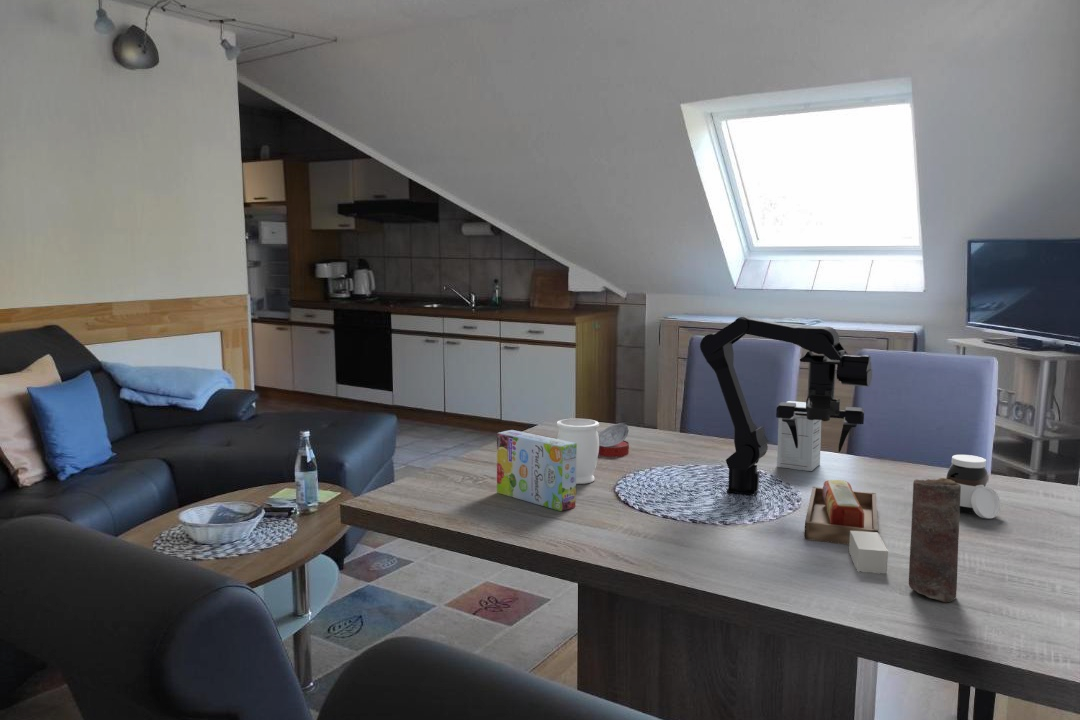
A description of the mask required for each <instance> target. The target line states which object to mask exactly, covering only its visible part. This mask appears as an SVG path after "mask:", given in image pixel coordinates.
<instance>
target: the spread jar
mask: <svg viewBox="0 0 1080 720" xmlns="http://www.w3.org/2000/svg"><path fill="white" fill-rule="evenodd" d="M986 466H987V459H986V458H983V457H980V456H977V455H971V454H954V455H952V457H951V465H950V466H949V469H948V470H947V473H946V476H945V479H950V480H952V481H955V483H958V484H960V485H961V495H960V513H965V514H976V515H977V516H978V517H980V518H981V519H994V518H996V517H997V516H998V515H999V513H1000V511H1001V506H1002V505H1001V499H1000V496H999V493H997V491H996V490H995V489H994V488H992V487H990V486H989V482H990V477H989V476H990V475H989V472H988V470H987V468H986Z"/></svg>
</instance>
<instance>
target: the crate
mask: <svg viewBox="0 0 1080 720" xmlns="http://www.w3.org/2000/svg"><path fill="white" fill-rule="evenodd" d="M852 491H853V492H854V494H855V496H856V498H857V500H858V502H859V504H860V506H861V507H862V509H863V511H864V528H860V527H851V526H842V525H834V524H830V519H829V516H828V513H827V509H826V505H825V503H824V501H823V487H819V486H812V488H811V493H810V497H809V502H808V507H807V511H806V516H805V521H804V533H803V534H804V537H803V539H804V540H809V541H817V542H824V543H832V544H840V545H848V544H849V541H850V531H864V532H878V533H879V525H878V523H879V522H878V506H877V503H878V502H877V493H876V492H870V491H869V492H868V491H858V490H852Z"/></svg>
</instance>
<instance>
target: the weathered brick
mask: <svg viewBox="0 0 1080 720" xmlns="http://www.w3.org/2000/svg"><path fill="white" fill-rule="evenodd" d="M912 486H913V487H912V505H911V507H912V509H911V513H912V514H911V529H910V531H911V532H910V547H909V550H910V551H909V562H908V563H909V567H908V570H909V571H908V586H909V588H910V589H911V590H913V591H916V592H917V593H918V594H920V595H923V596H925V597H927V598H929V599H933V600H936V601H940V602H941V603H942V602H943V603H951V602H953V601H954V600H955V599H956V598H957V589H958V585H957V584H958V564H959V563H958V561H959V560H958V559H959V536H960V535H959V534H960V518H961V517H960V514H961V512H960V495H961V485H960V484H958V483H955V481H952V480H950V479H946V477H940V478H937V479H914V480H913V483H912Z"/></svg>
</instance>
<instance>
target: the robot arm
mask: <svg viewBox="0 0 1080 720" xmlns="http://www.w3.org/2000/svg"><path fill="white" fill-rule="evenodd" d="M745 335H749V336H755V337H759V338H765V339H770V340H773V341H774V340H775V341H779V342H786V343H790V344H793V345H796V346H798V347H800V348H802V349H804V350H806V351H807V352H806V354H805V355H803V356H802V357H800V359H799V362H801V363H808V379H807V380H808V381H807V398H806V400H805V402H806V408H804V407H796V403H787V401H786V402H784V401H780V402H779V403H778V404H777V406H776V409H775V410H776V411H775V418H777V419H779V418H782V421H783V422H786V423H787V424H788V426H789V428H790V430H791V433H792V436H793V440H794V443H795V446H796V448H798V441H799V440H798V425H797V416H796V415H803V416H807V419H809V420H821V422H828V421H830V419H831V418H832V419H843V422H842V426H841V432H840V437H839V443H838V453H840V452H841V451H842V450H843V449H842V448H843V446H844V444H845V441H846V439H847V436H848V434H849V433H850V431H851V430H852V428H857V427H858V425H864V421H865V410H864V408H863V407H858V406H857V407H855V406H845V410H844V409H841V408H840V407H841V399H840V398H839V399H838V398H835V389H836V388H835V387H836V383H835V382H836V379H837V380H838V382H841V383H840V384H841V385H845V386H856V387H857V386H858V387H866V388H868V387H870V385H871V383H872V378H873V369H872V362H871V355H866V354H865V355H863V354H862V355H851V354H849V353H848V351H846V349H845V348H844V346H843V345H842V343H841V342H840V335H839V333H838V331H837V330H836V329H835V328H833V327H831V326H827V325H826V326H824V325H823V326H821V325H820V326H818V325H816V326H797V325H794V324H793V325H792V324H786V323H780V322H775V321H771V320H770V321H769V320H767V319H766V320H764V319H759V318H753V317H752V316H748V315H744V316H740V317H737V318H736V319H735V320H734V321H732V322H731V323H730V324H728V325H726V326H725V327H723V328H721V329H720V330H718V331H717V332H713V333H709V334H706V335H704V337H702V338H701V341H700V343H699V348H700V349H699V350H700V352H701V353H702V355H703V357H704V359H705V361H706V363H707V364H708V365H709V366H710V368H711V369H712V370H713V372H714V373H715V375H716V378H717V381H718V384H719V387H720V389H721V393H722V396H723V398H724V402H725V404H726V407H727V411H728V413H729V417H730V419H731V422H732V426H733V430H734V431H733V433H734V434H733V443H734V448H735V449H734V450H735V452H734V453H732V454H731V455H730V456H729V457H727V458H726V459H725V463H726V465H727V468H728V483H727V484H728V486H727V487H728V488H727V489H726V492H727V493H731V492H736V493H735V494H740V493H746V494H745V495H750V494H754V495H756V492H757V491H758V490H759V488H760V487H759V486H760V471H758V465H757V464H758V463H759V461H760V459H762V458H763V457H764V456H765V455H766V454H767V452H768V447H769V446H768V443H769V442H770V440H769V439H768V437H767V435H766V432H765V431H766V430H765V428H764V426H763V425H762V426H759V427H758V426H757V425H756V424H755V423H754V421H753V419H752V417H751V413H750V410H749V407H748V405H747V402H746V398H745V395H744V394H743V390H742V386H741V384H740V382H739V379H738V376H737V373H736V370H735V368H734V354H735V353H734V347H733V345H734V344H735V343H737V342H738V341H740V340H741V339H742V338H743V337H745Z"/></svg>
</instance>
